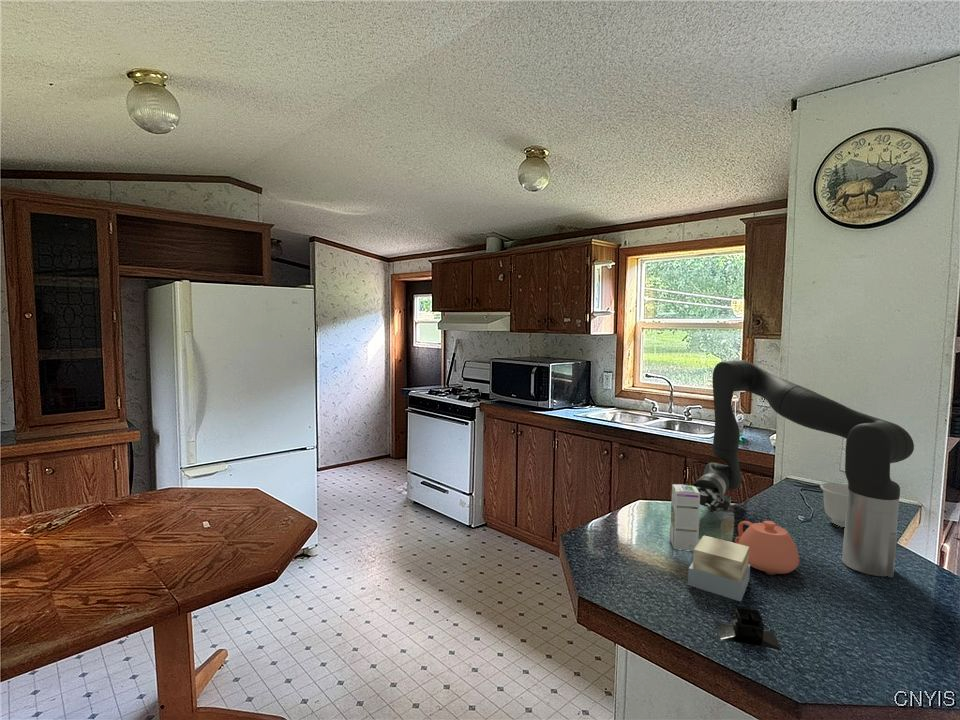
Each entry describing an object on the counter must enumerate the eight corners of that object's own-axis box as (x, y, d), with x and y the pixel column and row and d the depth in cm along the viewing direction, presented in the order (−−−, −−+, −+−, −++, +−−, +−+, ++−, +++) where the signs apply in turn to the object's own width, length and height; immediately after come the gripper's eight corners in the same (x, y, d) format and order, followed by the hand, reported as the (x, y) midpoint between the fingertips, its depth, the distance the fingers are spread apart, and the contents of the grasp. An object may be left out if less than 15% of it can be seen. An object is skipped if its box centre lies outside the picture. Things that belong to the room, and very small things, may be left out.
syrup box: (698, 552, 121) (702, 492, 120) (672, 549, 123) (675, 490, 121) (693, 542, 127) (696, 485, 126) (668, 539, 128) (671, 483, 127)
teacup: (867, 519, 145) (870, 485, 145) (873, 537, 133) (876, 500, 132) (816, 510, 152) (819, 477, 151) (817, 526, 139) (820, 490, 138)
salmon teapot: (776, 584, 107) (779, 537, 106) (717, 556, 120) (720, 514, 119) (810, 572, 113) (813, 527, 112) (751, 547, 125) (754, 506, 124)
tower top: (748, 564, 108) (749, 546, 107) (740, 581, 100) (742, 562, 100) (702, 552, 113) (703, 535, 113) (692, 568, 106) (693, 549, 105)
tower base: (749, 582, 108) (750, 564, 108) (740, 603, 100) (742, 583, 100) (699, 568, 114) (700, 551, 114) (687, 586, 106) (688, 567, 106)
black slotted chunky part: (712, 643, 88) (713, 618, 87) (705, 619, 95) (707, 595, 94) (793, 658, 84) (795, 632, 84) (780, 632, 91) (782, 607, 91)
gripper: (683, 471, 148) (666, 484, 135) (737, 481, 139) (724, 496, 126) (682, 496, 148) (664, 512, 135) (735, 508, 140) (722, 526, 127)
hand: (693, 504), depth 131 cm, fingers open, 8 cm apart
